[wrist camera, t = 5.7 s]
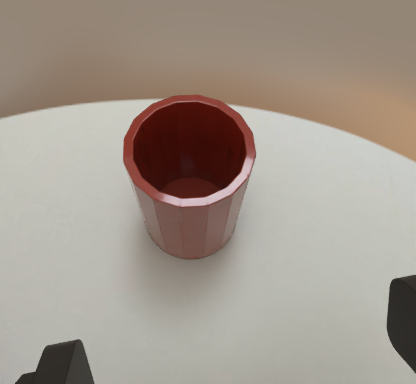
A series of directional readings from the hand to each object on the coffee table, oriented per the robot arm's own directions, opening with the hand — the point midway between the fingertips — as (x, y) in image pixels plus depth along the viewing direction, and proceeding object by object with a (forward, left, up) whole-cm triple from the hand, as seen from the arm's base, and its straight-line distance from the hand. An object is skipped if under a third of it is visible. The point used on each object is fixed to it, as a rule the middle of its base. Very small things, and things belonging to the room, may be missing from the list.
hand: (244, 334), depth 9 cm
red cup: (+1, -8, -13) cm, 15 cm away
